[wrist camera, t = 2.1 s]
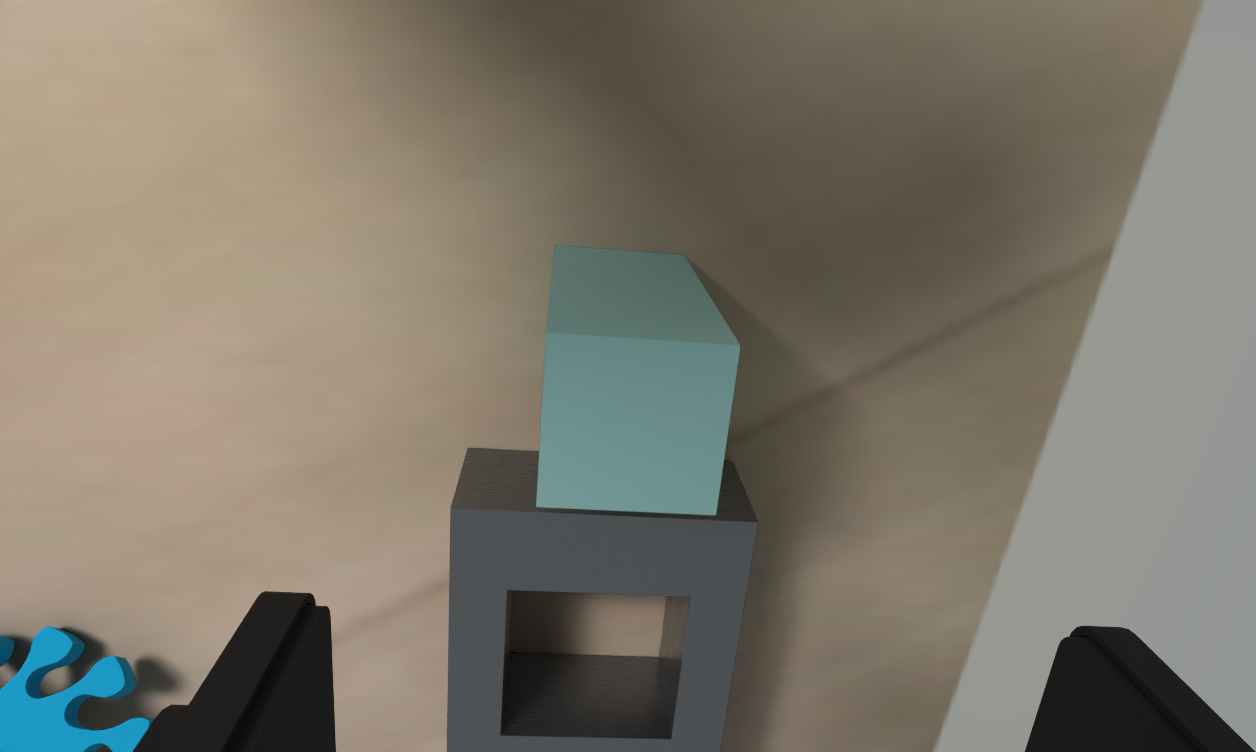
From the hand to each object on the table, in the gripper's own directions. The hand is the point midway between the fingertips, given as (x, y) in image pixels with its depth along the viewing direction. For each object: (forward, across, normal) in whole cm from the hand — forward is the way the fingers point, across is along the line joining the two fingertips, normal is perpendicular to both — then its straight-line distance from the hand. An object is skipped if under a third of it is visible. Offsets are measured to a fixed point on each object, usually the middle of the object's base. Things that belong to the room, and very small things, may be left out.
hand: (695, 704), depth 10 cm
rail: (+17, 0, +14) cm, 22 cm away
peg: (+16, 0, -1) cm, 17 cm away
